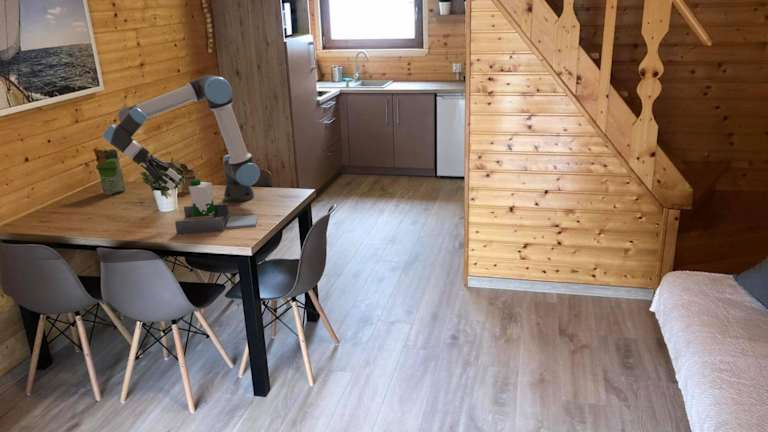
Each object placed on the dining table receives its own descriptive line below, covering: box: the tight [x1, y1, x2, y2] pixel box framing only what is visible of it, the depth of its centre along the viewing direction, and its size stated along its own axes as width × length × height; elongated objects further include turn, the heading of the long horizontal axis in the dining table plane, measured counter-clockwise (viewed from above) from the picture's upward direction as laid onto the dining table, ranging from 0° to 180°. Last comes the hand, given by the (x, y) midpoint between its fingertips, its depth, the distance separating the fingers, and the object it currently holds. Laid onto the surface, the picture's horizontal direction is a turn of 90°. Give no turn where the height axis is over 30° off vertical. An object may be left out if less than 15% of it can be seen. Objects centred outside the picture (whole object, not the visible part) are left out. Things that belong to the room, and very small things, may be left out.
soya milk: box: [189, 178, 216, 218], centre depth 290 cm, size 9×9×20 cm
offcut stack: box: [185, 215, 214, 220], centre depth 284 cm, size 6×16×5 cm, turn 96°
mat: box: [225, 214, 259, 229], centre depth 290 cm, size 13×13×1 cm
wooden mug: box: [170, 157, 197, 194], centre depth 340 cm, size 9×14×18 cm, turn 78°
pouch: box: [92, 148, 126, 195], centre depth 340 cm, size 11×12×25 cm
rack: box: [174, 202, 230, 236], centre depth 288 cm, size 22×20×6 cm
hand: (176, 183), depth 286 cm, fingers open, 13 cm apart
